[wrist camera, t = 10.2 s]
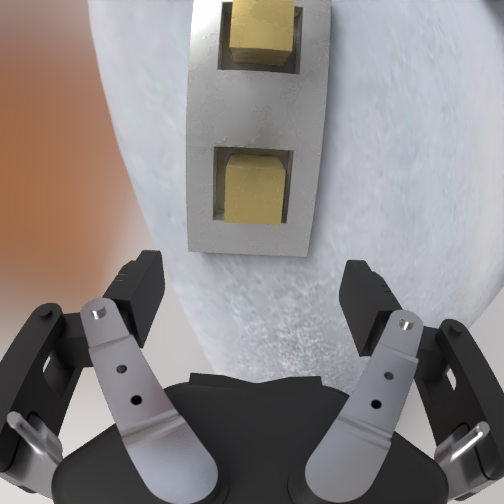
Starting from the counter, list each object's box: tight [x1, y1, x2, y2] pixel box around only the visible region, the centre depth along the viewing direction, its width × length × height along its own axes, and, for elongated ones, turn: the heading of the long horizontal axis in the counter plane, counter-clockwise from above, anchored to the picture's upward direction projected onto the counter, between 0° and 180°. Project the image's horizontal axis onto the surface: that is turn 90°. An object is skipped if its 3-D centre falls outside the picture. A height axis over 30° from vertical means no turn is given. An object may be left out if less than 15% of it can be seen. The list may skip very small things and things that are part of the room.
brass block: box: [224, 154, 286, 225], centre depth 25 cm, size 4×4×7 cm
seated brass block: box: [229, 0, 295, 65], centre depth 19 cm, size 4×4×7 cm
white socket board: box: [186, 0, 331, 257], centre depth 24 cm, size 28×12×3 cm, turn 177°
